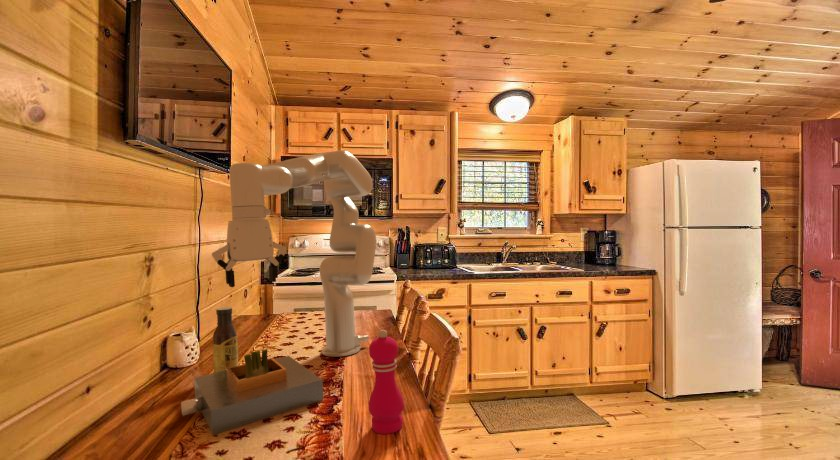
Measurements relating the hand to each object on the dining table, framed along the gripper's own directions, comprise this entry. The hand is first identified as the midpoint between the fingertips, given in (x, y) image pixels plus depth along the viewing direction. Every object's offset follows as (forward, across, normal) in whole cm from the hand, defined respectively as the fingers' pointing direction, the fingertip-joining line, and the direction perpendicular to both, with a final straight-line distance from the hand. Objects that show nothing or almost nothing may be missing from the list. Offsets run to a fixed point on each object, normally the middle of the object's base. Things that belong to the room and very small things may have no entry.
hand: (252, 283), depth 100 cm
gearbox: (+28, +3, +1) cm, 28 cm away
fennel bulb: (+28, +1, +1) cm, 29 cm away
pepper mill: (+28, -16, +34) cm, 47 cm away
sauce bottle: (+28, +4, -19) cm, 35 cm away
